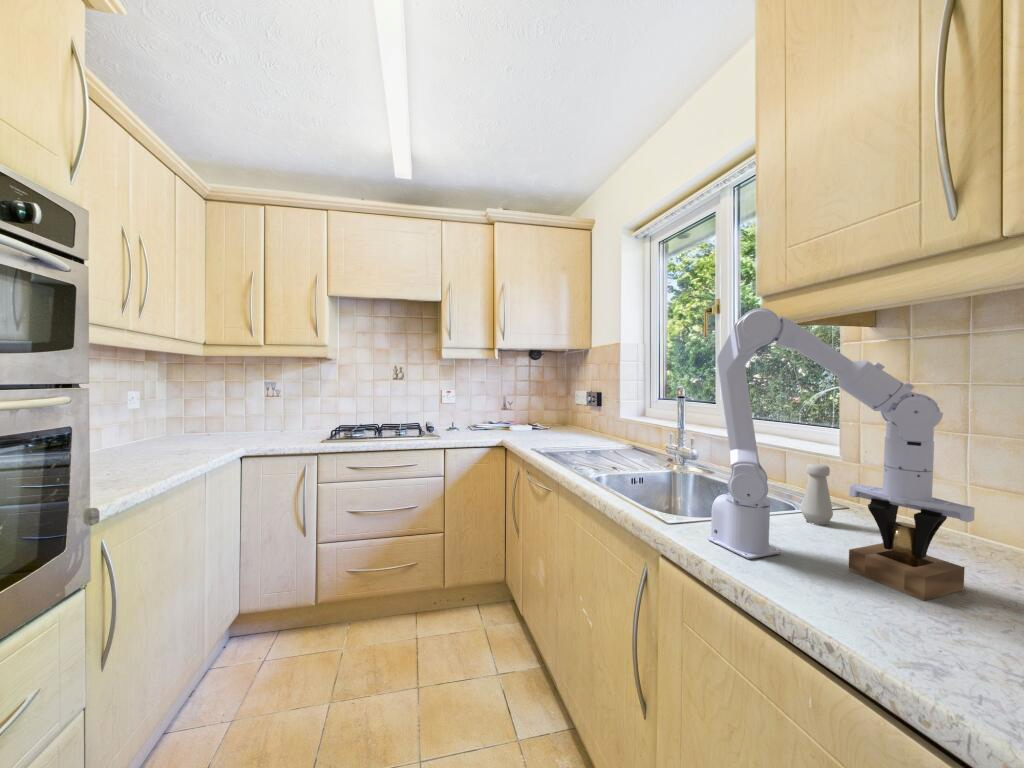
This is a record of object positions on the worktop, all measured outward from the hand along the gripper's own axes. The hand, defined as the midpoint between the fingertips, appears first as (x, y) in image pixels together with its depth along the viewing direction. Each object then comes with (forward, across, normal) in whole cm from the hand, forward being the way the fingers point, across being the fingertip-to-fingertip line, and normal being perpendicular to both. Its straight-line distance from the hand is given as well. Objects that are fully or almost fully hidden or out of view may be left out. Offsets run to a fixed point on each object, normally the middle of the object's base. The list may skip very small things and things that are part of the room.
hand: (904, 552), depth 67 cm
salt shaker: (+5, -20, +18) cm, 27 cm away
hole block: (+4, 0, 0) cm, 4 cm away
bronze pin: (+2, 0, 0) cm, 2 cm away
